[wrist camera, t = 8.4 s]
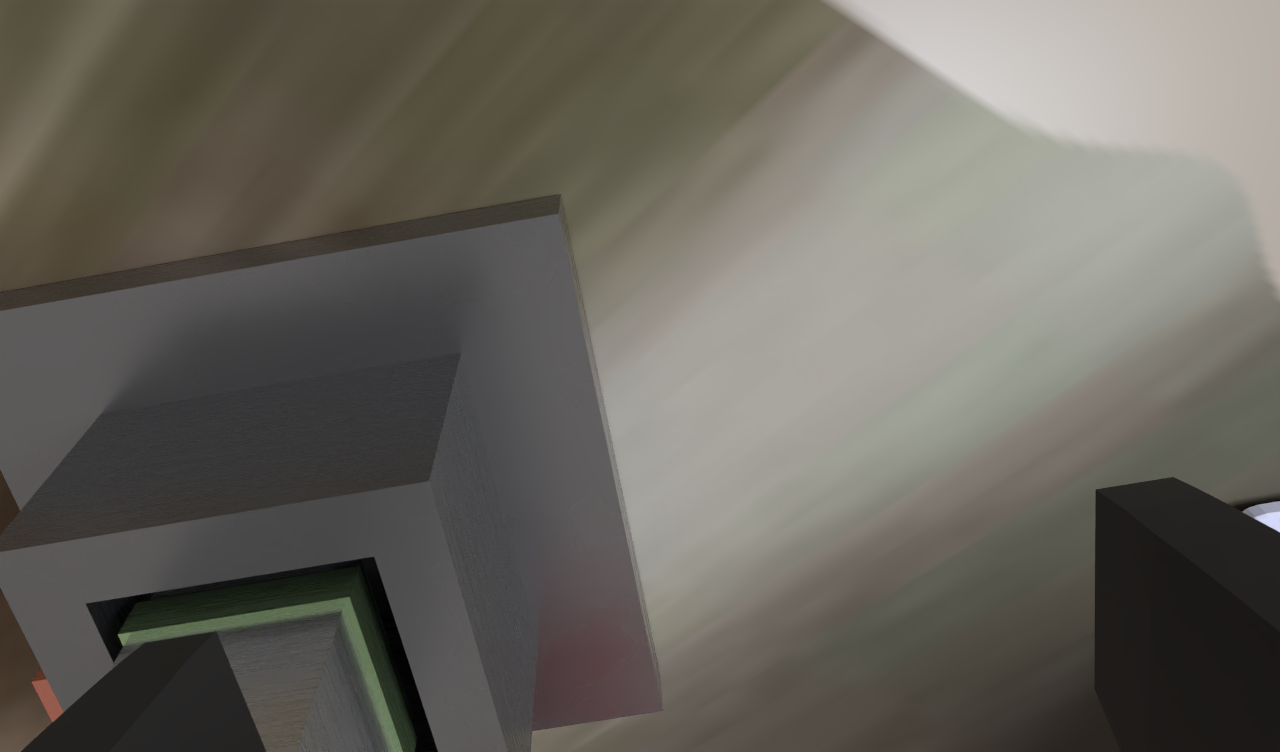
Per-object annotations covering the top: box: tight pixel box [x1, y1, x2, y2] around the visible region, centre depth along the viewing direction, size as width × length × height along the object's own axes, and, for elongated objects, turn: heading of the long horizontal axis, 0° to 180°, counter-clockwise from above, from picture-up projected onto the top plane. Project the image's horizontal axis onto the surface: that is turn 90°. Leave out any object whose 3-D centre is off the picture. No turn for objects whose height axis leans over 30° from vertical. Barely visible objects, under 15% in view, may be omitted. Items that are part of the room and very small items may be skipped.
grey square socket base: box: [0, 194, 663, 752], centre depth 19 cm, size 10×10×5 cm
